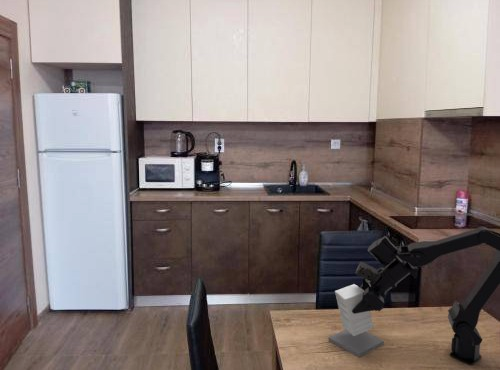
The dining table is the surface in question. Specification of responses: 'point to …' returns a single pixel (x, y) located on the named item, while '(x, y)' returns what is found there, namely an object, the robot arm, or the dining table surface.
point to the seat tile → (356, 342)
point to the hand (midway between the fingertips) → (353, 305)
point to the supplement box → (346, 304)
